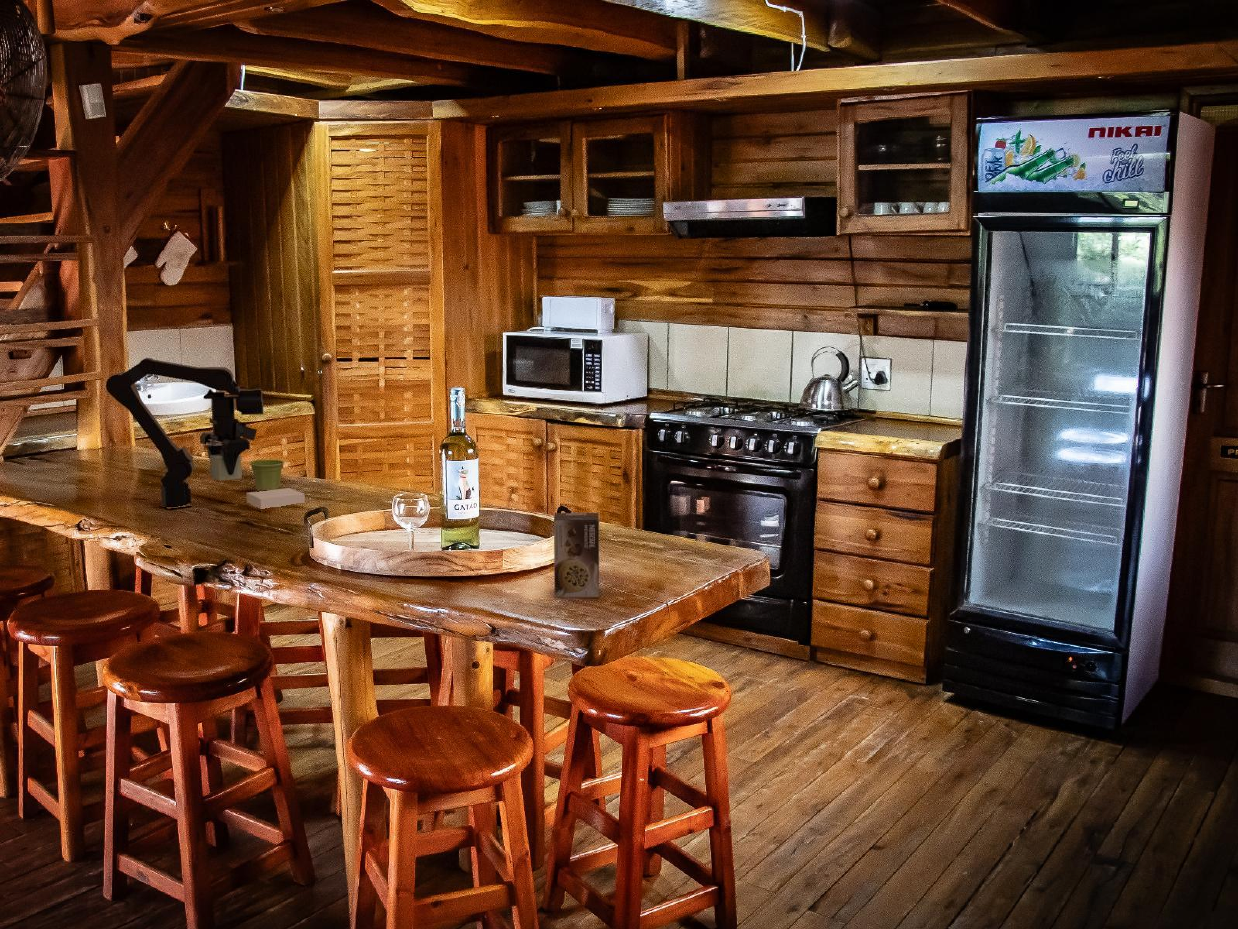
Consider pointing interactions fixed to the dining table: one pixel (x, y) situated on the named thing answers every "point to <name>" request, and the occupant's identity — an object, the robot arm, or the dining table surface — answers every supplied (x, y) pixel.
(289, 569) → the dining table surface
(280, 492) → the plinth
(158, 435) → the robot arm
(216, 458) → the sage cube
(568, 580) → the coffee box
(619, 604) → the dining table surface
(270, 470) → the plant pot
